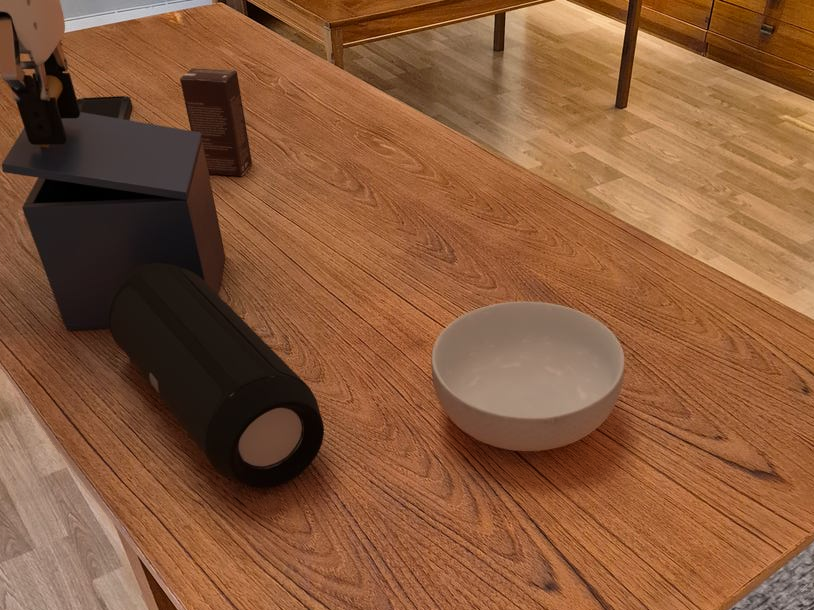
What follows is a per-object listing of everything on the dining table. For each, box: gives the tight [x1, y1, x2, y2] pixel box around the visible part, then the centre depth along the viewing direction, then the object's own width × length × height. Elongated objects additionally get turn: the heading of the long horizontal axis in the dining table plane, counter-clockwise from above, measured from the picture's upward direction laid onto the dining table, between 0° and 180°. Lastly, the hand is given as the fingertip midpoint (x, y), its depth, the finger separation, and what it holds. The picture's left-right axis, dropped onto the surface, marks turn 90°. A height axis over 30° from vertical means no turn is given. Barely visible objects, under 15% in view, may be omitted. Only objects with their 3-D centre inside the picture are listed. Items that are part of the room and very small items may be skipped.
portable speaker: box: [108, 263, 325, 490], centre depth 77 cm, size 26×10×10 cm, turn 37°
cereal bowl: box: [430, 301, 626, 452], centre depth 78 cm, size 17×17×7 cm
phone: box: [77, 95, 133, 120], centre depth 126 cm, size 8×1×15 cm
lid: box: [1, 75, 201, 200], centre depth 83 cm, size 15×14×6 cm
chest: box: [21, 141, 226, 332], centre depth 91 cm, size 15×14×13 cm
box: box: [179, 67, 253, 177], centre depth 113 cm, size 6×4×12 cm
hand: (55, 127), depth 83 cm, fingers closed on lid, 5 cm apart
